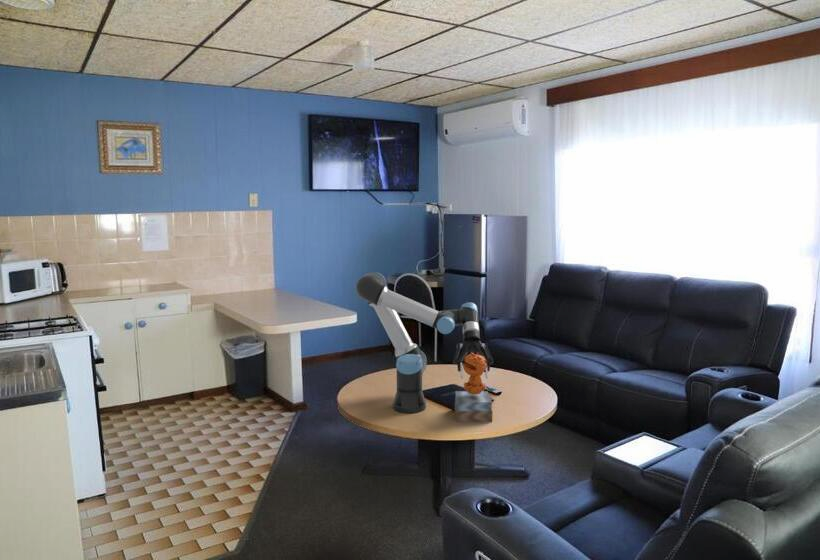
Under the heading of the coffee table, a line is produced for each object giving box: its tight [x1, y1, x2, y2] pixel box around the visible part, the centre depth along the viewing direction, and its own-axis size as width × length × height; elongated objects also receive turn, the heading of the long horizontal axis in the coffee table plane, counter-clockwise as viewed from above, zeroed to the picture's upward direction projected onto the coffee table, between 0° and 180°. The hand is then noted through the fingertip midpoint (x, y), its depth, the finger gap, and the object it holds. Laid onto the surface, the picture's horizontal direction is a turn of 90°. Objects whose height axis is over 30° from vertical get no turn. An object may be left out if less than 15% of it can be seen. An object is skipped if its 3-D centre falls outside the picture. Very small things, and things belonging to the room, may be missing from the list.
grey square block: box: [454, 390, 493, 423], centre depth 259 cm, size 15×15×8 cm
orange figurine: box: [462, 352, 487, 394], centre depth 257 cm, size 11×11×18 cm
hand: (474, 377), depth 254 cm, fingers closed on orange figurine, 10 cm apart
